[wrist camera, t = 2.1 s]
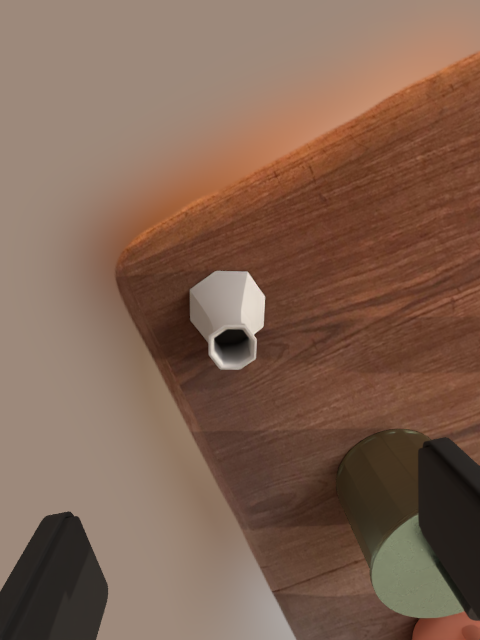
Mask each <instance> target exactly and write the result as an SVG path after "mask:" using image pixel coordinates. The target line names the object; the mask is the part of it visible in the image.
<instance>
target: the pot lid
mask: <svg viewBox="0 0 480 640" xmlns="http://www.w3.org/2000/svg"><path fill="white" fill-rule="evenodd" d="M370 579H371V583H372V586H373V588H374V591H375V593H376V594H377V596H378V598H379V599H380V600H381V601H382V602H383V603H384V604H385V605H386V606H387V607H388V608H390V609H392V610H393V611H395V612H397V613H400V614H402V615H406V616H410V617H416V618H439V617H446V616H450V615H454V614H458V613H461V612H464V611H465V613H466V614H467V616H468V617H469V618H470V619H471V620H474V621H480V620H479V619H478V617H477V616H476V614H475V613H474V611H473V610H472V608H471V607H470V605H469V604H468V602H467V601H466V599H465V598H464V596H463V595H462V593H461V592H460V590H459V589H458V587H457V586H456V584H455V583H454V581H453V580H452V578H451V577H450V575H449V573H448V572H447V570H446V569H445V567H444V566H443V564H442V563H441V561H440V560H439V558H438V557H437V555H436V554H435V552H434V551H433V549H432V548H431V546H430V545H429V543H428V542H427V540H426V539H425V537H424V536H423V534H422V532H421V529H420V526H419V521H418V508H417V509H415V510H414V511H412V512H410V513H408V514H407V515H405V516H404V517H403V518H401V519H400V520H399V521H397V522H396V523H395V524H394V525H393V526H392V527H391V528H390V529H389V530H388V531H387V532H386V533H385V534H384V536H383V537H382V538H381V540H380V541H379V543H378V544H377V546H376V548H375V550H374V552H373V555H372V558H371V563H370Z"/></svg>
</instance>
